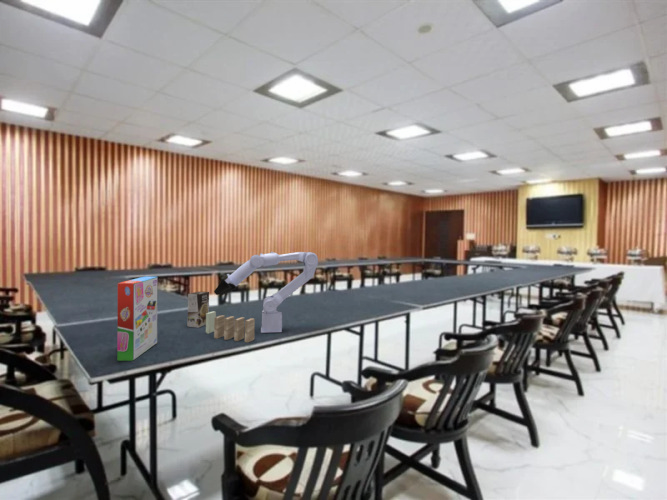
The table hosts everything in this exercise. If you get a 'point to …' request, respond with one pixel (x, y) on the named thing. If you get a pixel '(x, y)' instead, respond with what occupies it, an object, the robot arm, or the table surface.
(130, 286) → the game box
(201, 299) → the coffee box
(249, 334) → the domino
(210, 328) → the domino
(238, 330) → the domino
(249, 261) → the robot arm
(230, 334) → the domino
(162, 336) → the table surface
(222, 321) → the domino
